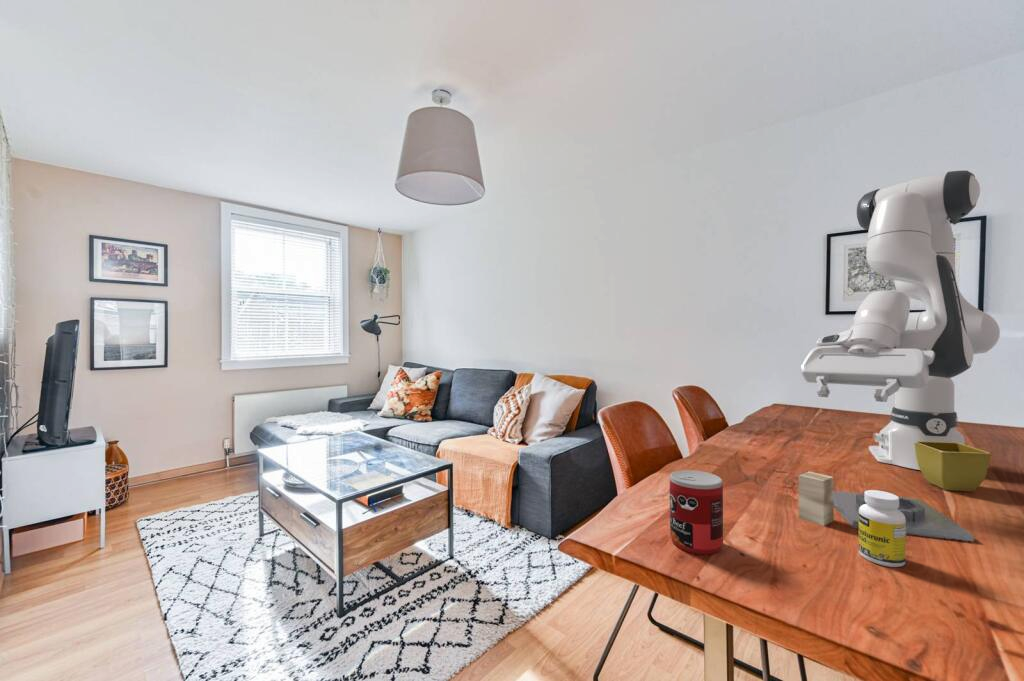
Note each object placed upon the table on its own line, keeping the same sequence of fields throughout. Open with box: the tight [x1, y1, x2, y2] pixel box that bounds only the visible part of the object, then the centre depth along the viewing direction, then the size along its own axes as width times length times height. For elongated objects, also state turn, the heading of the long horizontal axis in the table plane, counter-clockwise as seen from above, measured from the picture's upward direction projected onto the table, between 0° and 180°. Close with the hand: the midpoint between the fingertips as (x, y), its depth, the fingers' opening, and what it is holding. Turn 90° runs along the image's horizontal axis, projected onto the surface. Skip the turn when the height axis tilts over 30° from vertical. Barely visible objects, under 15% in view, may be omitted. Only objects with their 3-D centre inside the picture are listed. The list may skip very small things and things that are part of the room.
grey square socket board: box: [833, 490, 975, 543], centre depth 80 cm, size 16×16×3 cm
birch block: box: [798, 470, 835, 527], centre depth 79 cm, size 4×4×8 cm
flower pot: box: [914, 441, 992, 492], centre depth 94 cm, size 9×9×9 cm
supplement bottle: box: [858, 489, 907, 568], centre depth 65 cm, size 5×5×10 cm
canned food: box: [669, 469, 724, 555], centre depth 70 cm, size 8×8×11 cm
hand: (849, 397), depth 84 cm, fingers open, 8 cm apart
